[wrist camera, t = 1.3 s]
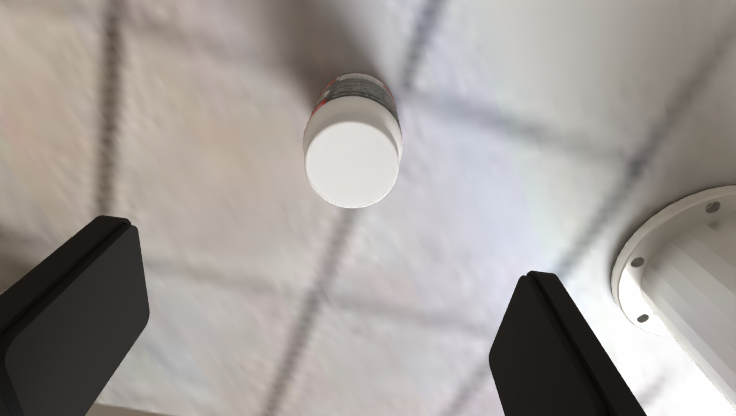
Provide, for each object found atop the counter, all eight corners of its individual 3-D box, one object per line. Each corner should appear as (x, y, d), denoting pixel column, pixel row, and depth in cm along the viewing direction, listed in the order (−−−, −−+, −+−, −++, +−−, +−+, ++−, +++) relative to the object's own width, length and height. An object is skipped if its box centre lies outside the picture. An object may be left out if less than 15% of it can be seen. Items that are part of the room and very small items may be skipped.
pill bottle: (318, 68, 23) (293, 104, 16) (400, 75, 23) (414, 115, 16) (316, 147, 25) (293, 211, 18) (391, 153, 26) (399, 219, 18)
